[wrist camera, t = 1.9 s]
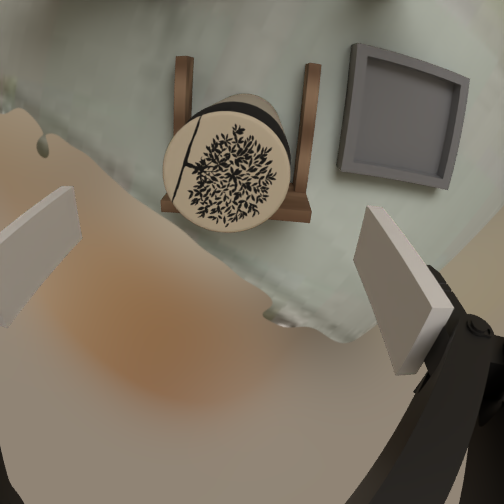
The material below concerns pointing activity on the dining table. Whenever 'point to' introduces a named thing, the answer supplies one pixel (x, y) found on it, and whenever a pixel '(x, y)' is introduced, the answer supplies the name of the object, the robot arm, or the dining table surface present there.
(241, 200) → the travel mug
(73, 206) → the robot arm
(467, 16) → the dining table surface
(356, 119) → the charcoal tray
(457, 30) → the dining table surface
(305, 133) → the walnut dock
